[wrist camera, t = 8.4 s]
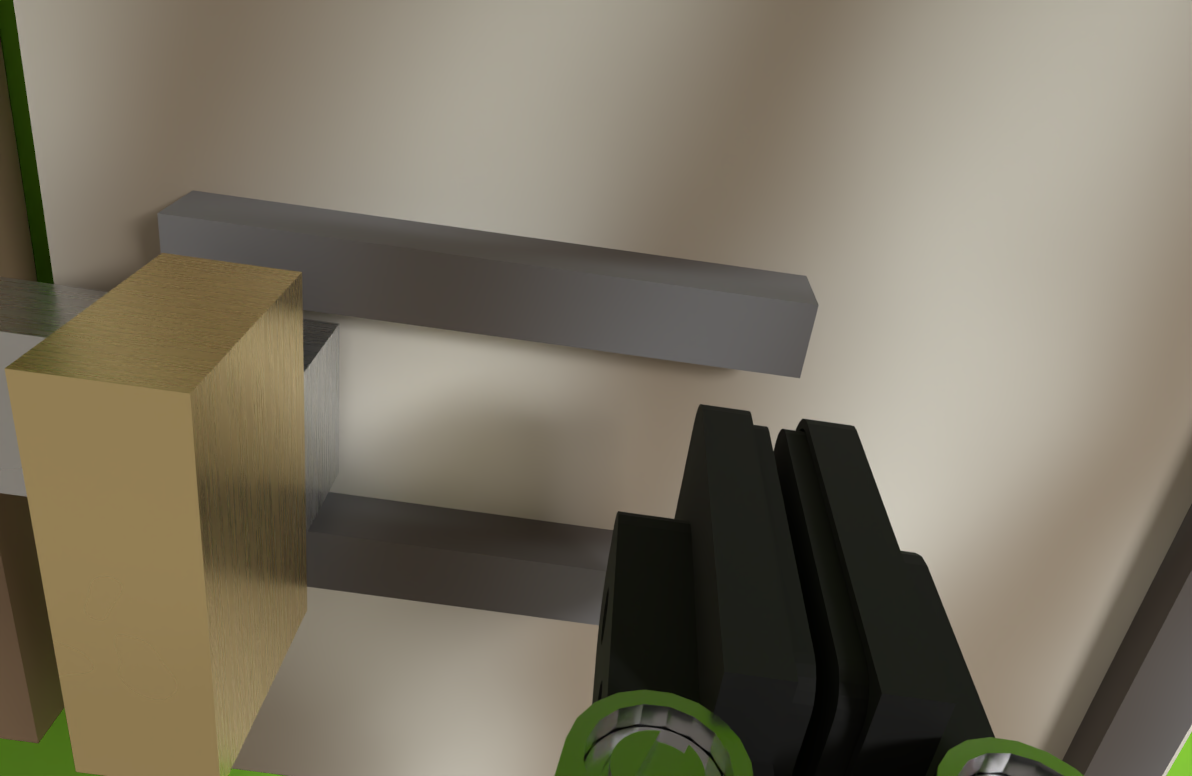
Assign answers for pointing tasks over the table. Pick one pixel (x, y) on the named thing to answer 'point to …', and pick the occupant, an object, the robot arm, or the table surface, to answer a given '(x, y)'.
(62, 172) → the door and frame
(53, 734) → the table surface
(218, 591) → the bolt
